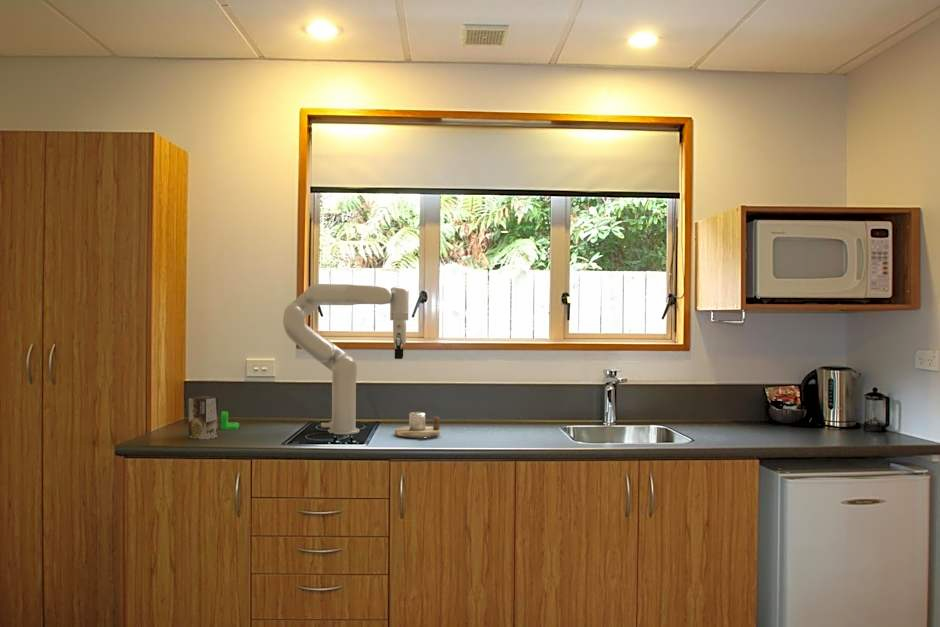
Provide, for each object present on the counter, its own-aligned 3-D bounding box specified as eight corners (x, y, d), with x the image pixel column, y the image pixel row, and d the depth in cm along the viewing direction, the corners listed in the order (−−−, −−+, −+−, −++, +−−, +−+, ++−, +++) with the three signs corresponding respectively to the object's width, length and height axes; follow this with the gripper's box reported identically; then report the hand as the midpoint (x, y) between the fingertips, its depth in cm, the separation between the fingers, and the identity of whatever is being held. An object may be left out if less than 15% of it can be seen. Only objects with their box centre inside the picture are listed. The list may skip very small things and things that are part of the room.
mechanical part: (236, 431, 293) (236, 412, 293) (220, 431, 292) (221, 412, 292) (240, 426, 305) (240, 408, 305) (225, 427, 304) (225, 408, 304)
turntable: (387, 431, 288) (387, 415, 288) (427, 428, 297) (427, 412, 297) (406, 438, 272) (406, 421, 272) (448, 434, 281) (448, 418, 281)
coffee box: (218, 438, 275) (218, 397, 275) (205, 441, 269) (206, 398, 269) (200, 437, 279) (201, 395, 279) (187, 439, 273) (188, 397, 273)
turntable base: (401, 438, 278) (401, 436, 278) (402, 433, 290) (402, 431, 290) (432, 438, 279) (432, 436, 279) (432, 433, 291) (432, 431, 291)
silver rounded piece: (425, 430, 281) (425, 414, 281) (408, 430, 281) (408, 414, 281) (425, 428, 288) (425, 411, 288) (409, 428, 287) (409, 411, 287)
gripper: (407, 317, 288) (407, 359, 288) (408, 316, 305) (408, 356, 305) (389, 316, 287) (388, 359, 287) (391, 316, 304) (390, 356, 304)
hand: (398, 358), depth 296 cm, fingers open, 9 cm apart
